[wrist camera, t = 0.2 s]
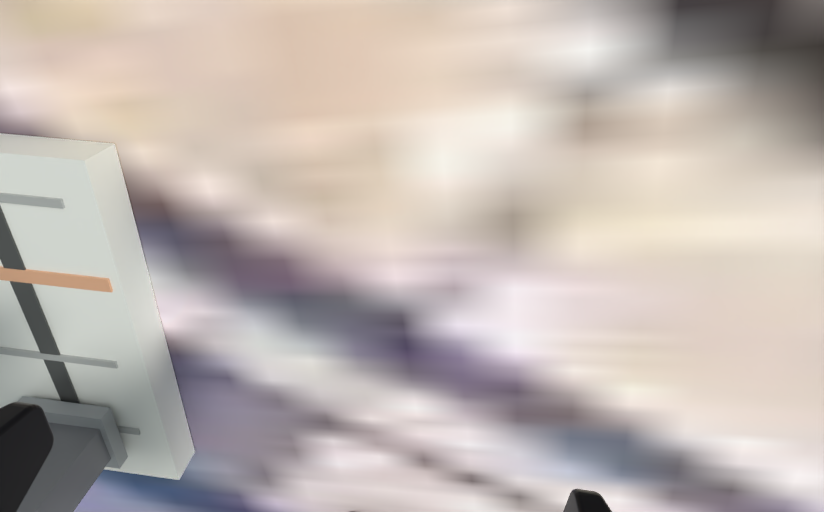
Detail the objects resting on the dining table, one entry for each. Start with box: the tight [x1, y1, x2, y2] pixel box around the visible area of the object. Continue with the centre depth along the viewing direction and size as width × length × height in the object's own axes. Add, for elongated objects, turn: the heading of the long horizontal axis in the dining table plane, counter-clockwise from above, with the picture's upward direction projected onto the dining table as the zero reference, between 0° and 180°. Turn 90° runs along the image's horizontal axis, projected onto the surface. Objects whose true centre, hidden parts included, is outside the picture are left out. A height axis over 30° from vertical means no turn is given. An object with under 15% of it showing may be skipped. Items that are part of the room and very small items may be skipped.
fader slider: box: [17, 396, 128, 512], centre depth 27 cm, size 4×5×6 cm
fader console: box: [0, 133, 195, 480], centre depth 27 cm, size 20×10×2 cm, turn 177°
